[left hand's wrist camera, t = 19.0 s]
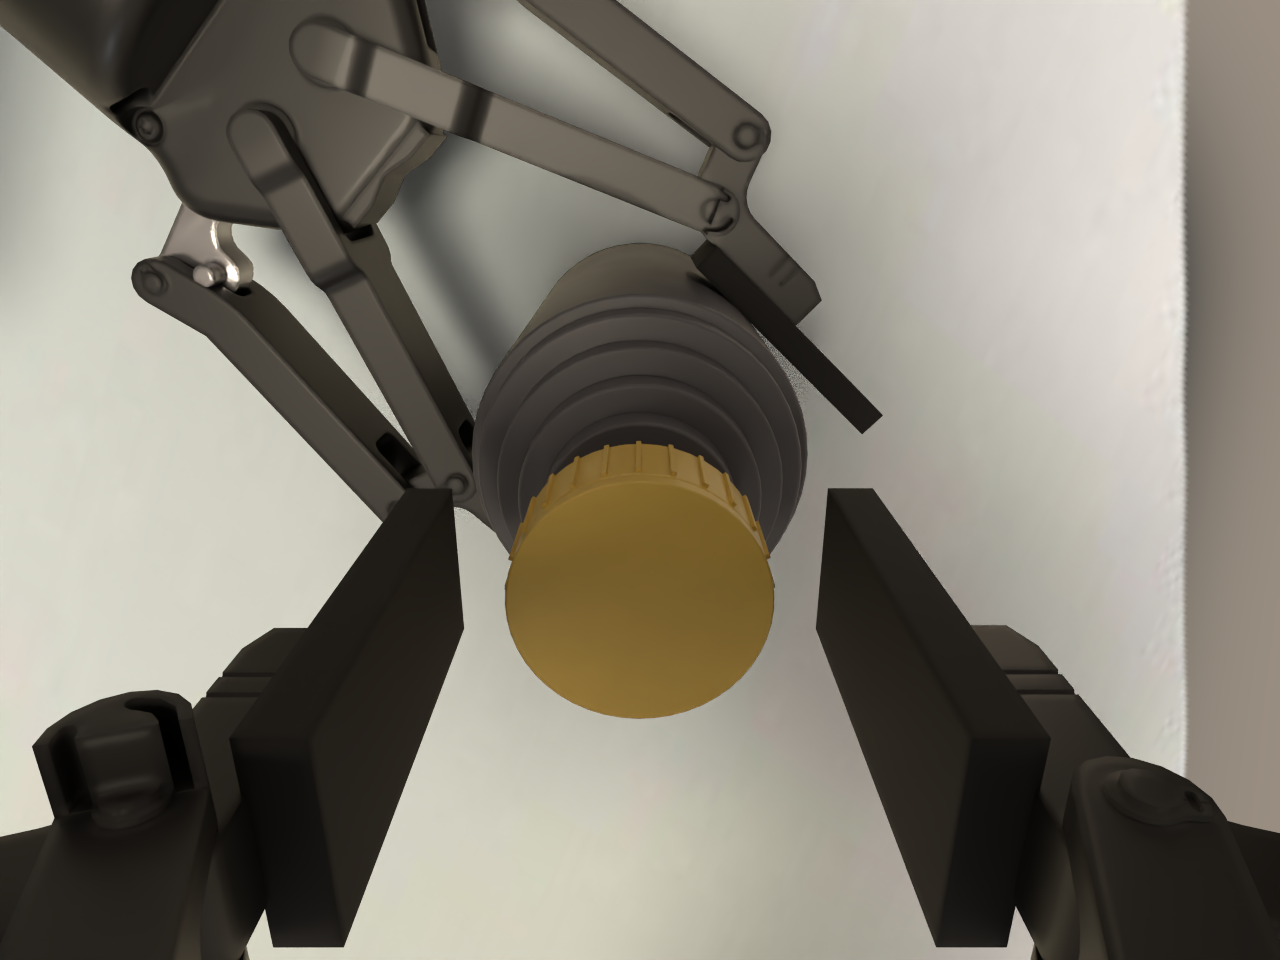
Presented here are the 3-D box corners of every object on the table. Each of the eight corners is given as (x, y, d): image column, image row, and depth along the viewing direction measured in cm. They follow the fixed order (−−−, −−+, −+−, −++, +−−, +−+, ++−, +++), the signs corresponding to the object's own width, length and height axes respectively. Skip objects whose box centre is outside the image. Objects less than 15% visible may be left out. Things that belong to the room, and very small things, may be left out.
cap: (809, 578, 15) (831, 632, 13) (615, 699, 16) (612, 765, 14) (667, 389, 14) (672, 421, 12) (466, 532, 15) (444, 582, 13)
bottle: (671, 198, 28) (717, 248, 12) (784, 381, 31) (957, 643, 14) (491, 322, 30) (303, 525, 13) (611, 489, 32) (580, 841, 16)
